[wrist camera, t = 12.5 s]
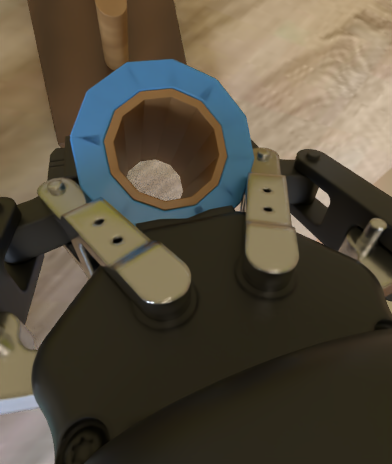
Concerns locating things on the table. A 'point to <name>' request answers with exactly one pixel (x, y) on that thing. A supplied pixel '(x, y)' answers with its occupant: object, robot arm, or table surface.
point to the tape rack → (97, 46)
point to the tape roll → (162, 139)
